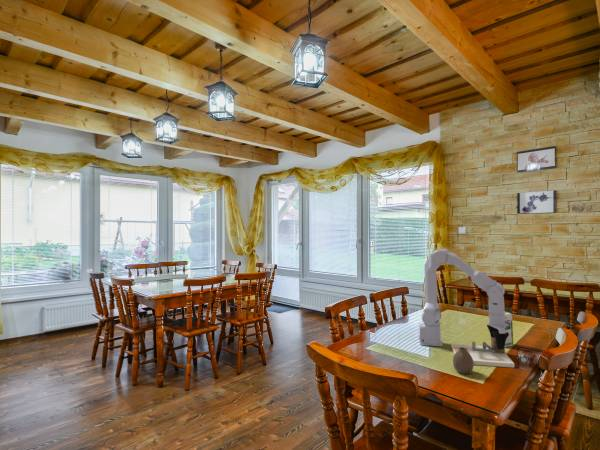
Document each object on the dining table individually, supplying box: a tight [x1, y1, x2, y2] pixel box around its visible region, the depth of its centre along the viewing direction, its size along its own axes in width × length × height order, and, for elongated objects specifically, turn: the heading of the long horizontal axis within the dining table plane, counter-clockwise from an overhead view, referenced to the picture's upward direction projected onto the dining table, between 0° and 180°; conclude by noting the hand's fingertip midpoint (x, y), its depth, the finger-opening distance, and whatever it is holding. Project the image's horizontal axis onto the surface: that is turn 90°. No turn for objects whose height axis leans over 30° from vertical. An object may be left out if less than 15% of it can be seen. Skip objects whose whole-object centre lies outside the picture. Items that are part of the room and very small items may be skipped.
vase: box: [452, 347, 474, 375], centre depth 126 cm, size 7×7×9 cm
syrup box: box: [505, 311, 514, 348], centre depth 153 cm, size 6×6×14 cm
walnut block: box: [490, 336, 506, 353], centre depth 141 cm, size 4×4×5 cm
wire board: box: [450, 343, 515, 369], centre depth 140 cm, size 20×18×2 cm
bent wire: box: [471, 341, 495, 352], centre depth 139 cm, size 8×9×4 cm
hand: (497, 345), depth 141 cm, fingers open, 7 cm apart
